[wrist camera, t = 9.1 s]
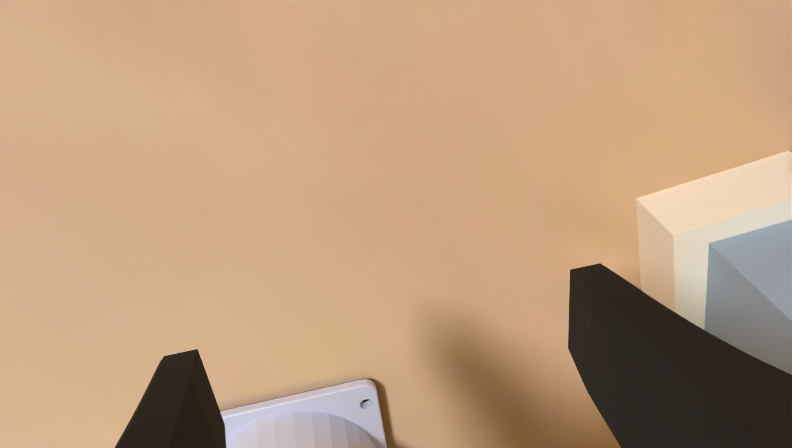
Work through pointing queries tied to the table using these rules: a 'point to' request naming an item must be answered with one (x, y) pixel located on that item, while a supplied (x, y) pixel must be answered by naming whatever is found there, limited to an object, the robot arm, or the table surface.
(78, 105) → the table surface
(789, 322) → the blue block
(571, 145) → the table surface
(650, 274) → the foundation slab
